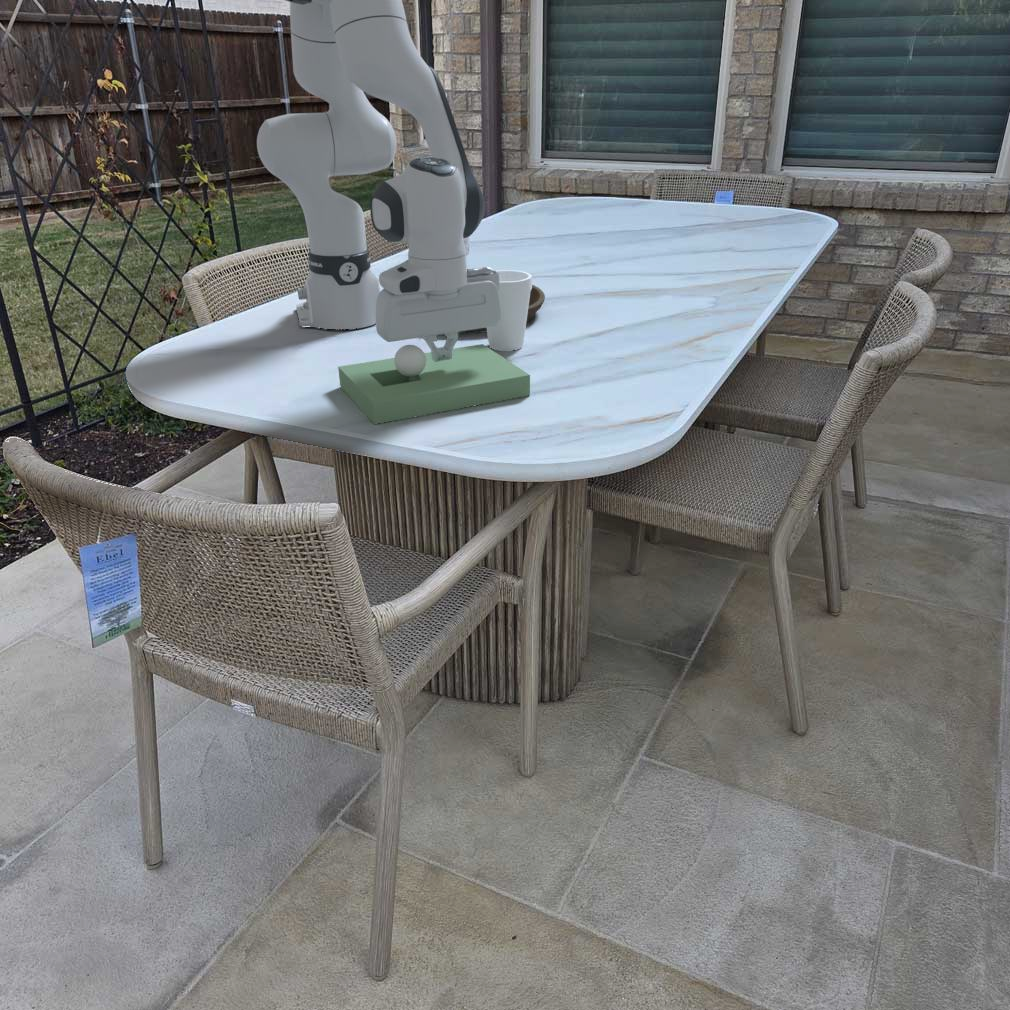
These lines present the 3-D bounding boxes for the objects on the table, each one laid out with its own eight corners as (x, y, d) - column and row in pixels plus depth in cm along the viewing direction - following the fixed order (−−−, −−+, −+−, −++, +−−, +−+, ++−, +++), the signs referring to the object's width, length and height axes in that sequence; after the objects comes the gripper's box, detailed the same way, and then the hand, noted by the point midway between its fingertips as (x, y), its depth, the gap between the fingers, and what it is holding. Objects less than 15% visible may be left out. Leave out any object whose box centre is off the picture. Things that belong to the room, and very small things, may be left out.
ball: (421, 361, 139) (395, 375, 137) (411, 334, 136) (384, 349, 134) (435, 371, 135) (409, 386, 134) (425, 345, 132) (398, 360, 131)
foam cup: (530, 338, 164) (530, 269, 158) (532, 353, 156) (533, 281, 150) (480, 339, 164) (479, 270, 158) (480, 354, 156) (479, 282, 150)
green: (340, 386, 141) (338, 366, 140) (482, 363, 151) (482, 344, 150) (374, 424, 127) (372, 402, 125) (529, 395, 137) (530, 374, 135)
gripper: (490, 261, 137) (491, 345, 144) (368, 276, 130) (375, 363, 136) (507, 269, 132) (508, 355, 139) (382, 285, 125) (389, 375, 131)
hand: (441, 359), depth 137 cm, fingers closed
